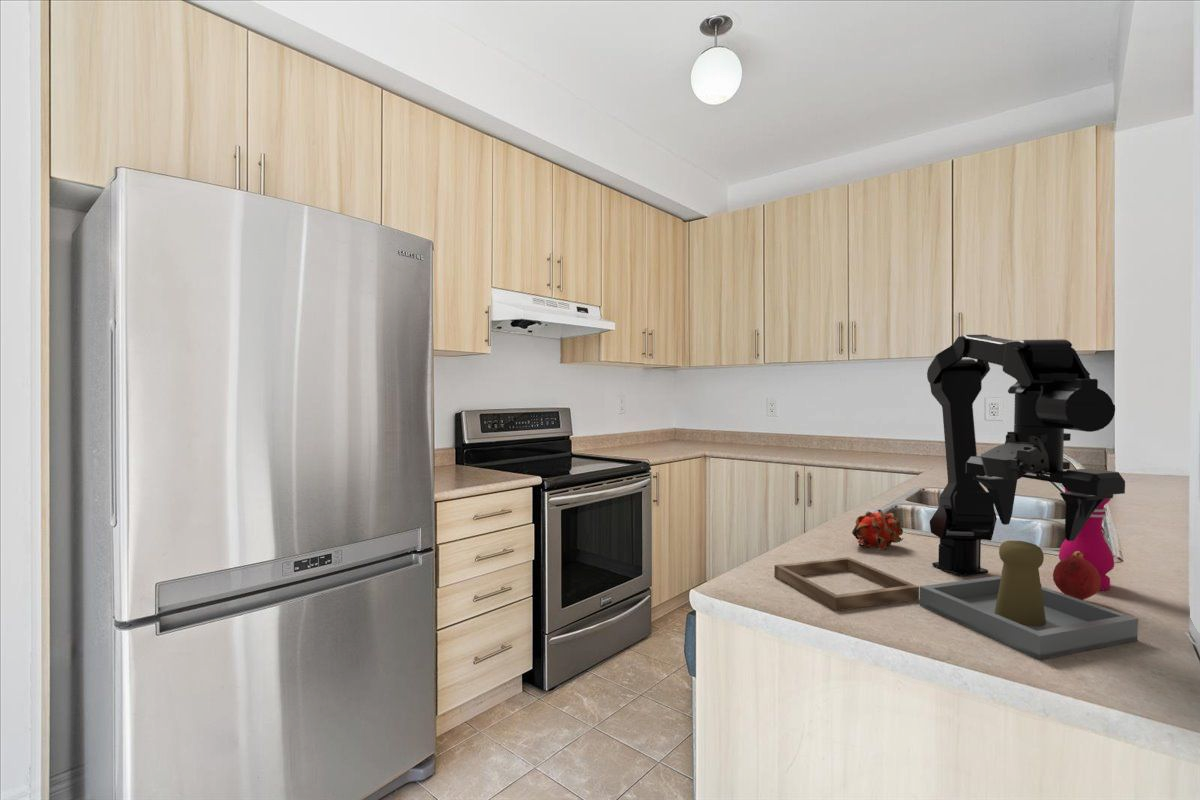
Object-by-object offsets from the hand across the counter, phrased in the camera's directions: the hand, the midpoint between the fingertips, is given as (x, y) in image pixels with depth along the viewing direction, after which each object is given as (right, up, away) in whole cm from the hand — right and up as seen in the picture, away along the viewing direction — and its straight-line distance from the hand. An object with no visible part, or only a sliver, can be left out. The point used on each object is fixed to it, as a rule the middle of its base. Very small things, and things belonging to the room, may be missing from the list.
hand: (1036, 532), depth 81 cm
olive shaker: (-3, -13, 0) cm, 13 cm away
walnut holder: (-23, -13, +13) cm, 29 cm away
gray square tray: (-3, -13, -1) cm, 13 cm away
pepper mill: (+20, -13, +15) cm, 28 cm away
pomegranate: (+12, -13, +7) cm, 19 cm away
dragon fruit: (-5, -12, +36) cm, 39 cm away
